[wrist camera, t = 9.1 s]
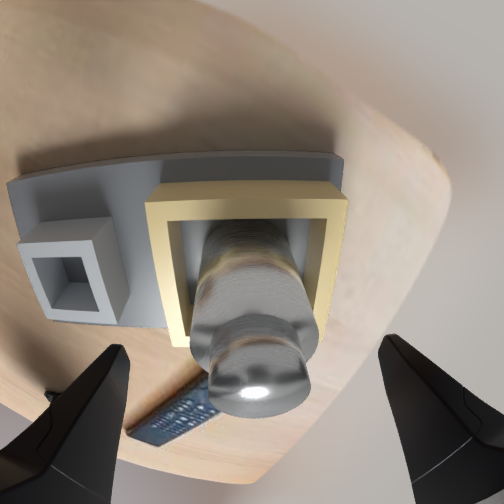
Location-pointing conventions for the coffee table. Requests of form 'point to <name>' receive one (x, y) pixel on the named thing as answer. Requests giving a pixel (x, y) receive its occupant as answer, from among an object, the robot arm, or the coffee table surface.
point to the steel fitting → (252, 321)
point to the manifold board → (169, 230)
